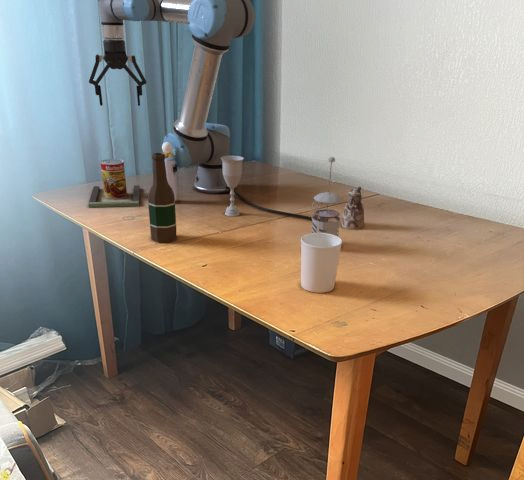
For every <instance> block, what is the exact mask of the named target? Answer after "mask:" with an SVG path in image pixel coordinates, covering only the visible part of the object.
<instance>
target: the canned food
mask: <svg viewBox="0 0 524 480" xmlns="http://www.w3.org/2000/svg"><path fill="white" fill-rule="evenodd" d="M99 164H100V170H101V179H102V187H103V195H104V198H105V199H109V200H121V199H125V198H127V197H128V190H127V180H126V171H125V169H126V168H125V161H124V159H120V158H105V159H102V160H100V162H99Z"/></svg>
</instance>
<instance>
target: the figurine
mask: <svg viewBox="0 0 524 480" xmlns="http://www.w3.org/2000/svg"><path fill="white" fill-rule="evenodd" d="M361 190H362V187H361V186H358V187H357V188H356V187H353V188H351V189H350V191H349V192H348V195H347V201H346V203H345V205H344V207H343V212H342V216H341V221H340V223H341V226H342V228H344V229H348V230H360V229H362V228H364V224H365V207H364V204H363V203H362V198H363V197H362V196H363V195H362V191H361Z"/></svg>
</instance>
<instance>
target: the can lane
mask: <svg viewBox="0 0 524 480" xmlns="http://www.w3.org/2000/svg"><path fill="white" fill-rule="evenodd" d="M140 190H141V187H140V184H139V185H137V184H136V185H133V194H132V200H130V201H129V200H128V201H127V200H126V201H98V199H99V194H100V191H101V188H100V185H94V186H93V187H92V191H91V194H90V198H89V201H88V208H118V207H119V208H124V207H125V208H127V207H140Z"/></svg>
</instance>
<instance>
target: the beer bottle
mask: <svg viewBox="0 0 524 480" xmlns="http://www.w3.org/2000/svg"><path fill="white" fill-rule="evenodd" d="M151 159H152V167H153V169H152V173H153V174H152V176H153V179H152V185H151V187H150V188H149V192H148V195H147V205H148V219H149V229H150V239H151V241H153V242H155V243H161V244H162V243H164V244H165V243H171V242H175V241H176V239H177V216H176V201H175V197H174V192H173V190H172V188H171V187H170V185H169V184H168V181H167V176H166V167H165V159H167V158H166V157H165V154H163V152H154V153H153V154H152V156H151Z"/></svg>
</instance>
